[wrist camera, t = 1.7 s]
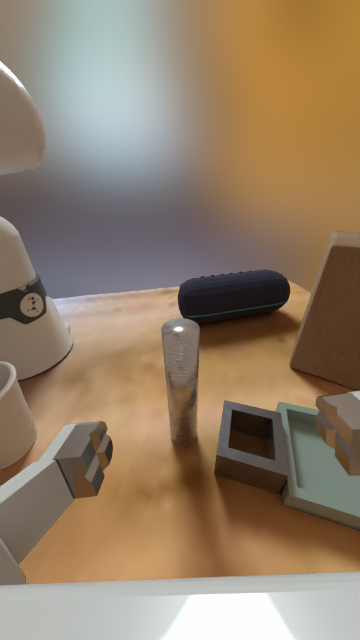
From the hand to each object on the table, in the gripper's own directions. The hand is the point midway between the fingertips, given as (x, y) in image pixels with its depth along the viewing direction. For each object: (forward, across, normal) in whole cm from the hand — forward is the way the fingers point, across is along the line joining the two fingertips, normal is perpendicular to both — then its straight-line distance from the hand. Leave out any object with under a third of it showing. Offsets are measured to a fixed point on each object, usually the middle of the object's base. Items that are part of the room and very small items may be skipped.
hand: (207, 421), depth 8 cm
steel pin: (+14, +4, +15) cm, 21 cm away
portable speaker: (+42, -7, +9) cm, 44 cm away
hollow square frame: (+12, -3, +16) cm, 21 cm away
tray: (+11, -12, +18) cm, 24 cm away
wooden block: (+27, -20, +15) cm, 37 cm away
